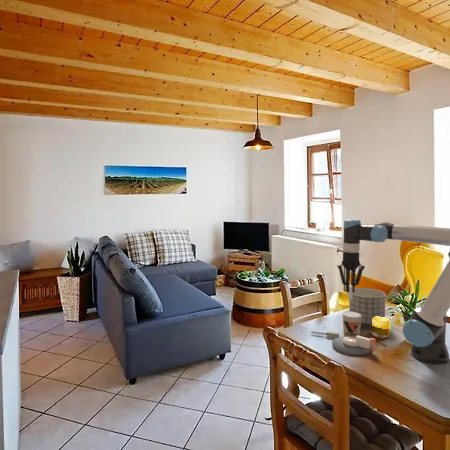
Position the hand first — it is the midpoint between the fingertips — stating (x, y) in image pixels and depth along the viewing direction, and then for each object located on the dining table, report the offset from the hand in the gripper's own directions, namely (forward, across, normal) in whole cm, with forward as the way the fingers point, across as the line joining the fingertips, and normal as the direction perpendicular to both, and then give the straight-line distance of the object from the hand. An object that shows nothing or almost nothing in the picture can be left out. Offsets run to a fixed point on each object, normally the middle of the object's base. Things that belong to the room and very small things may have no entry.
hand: (349, 298), depth 174 cm
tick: (+22, -5, +10) cm, 25 cm away
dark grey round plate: (+23, -1, +3) cm, 24 cm away
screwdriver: (+24, +9, -9) cm, 27 cm away
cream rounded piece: (+21, -3, +6) cm, 22 cm away
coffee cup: (+24, -4, -10) cm, 26 cm away
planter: (+24, -18, -28) cm, 41 cm away
